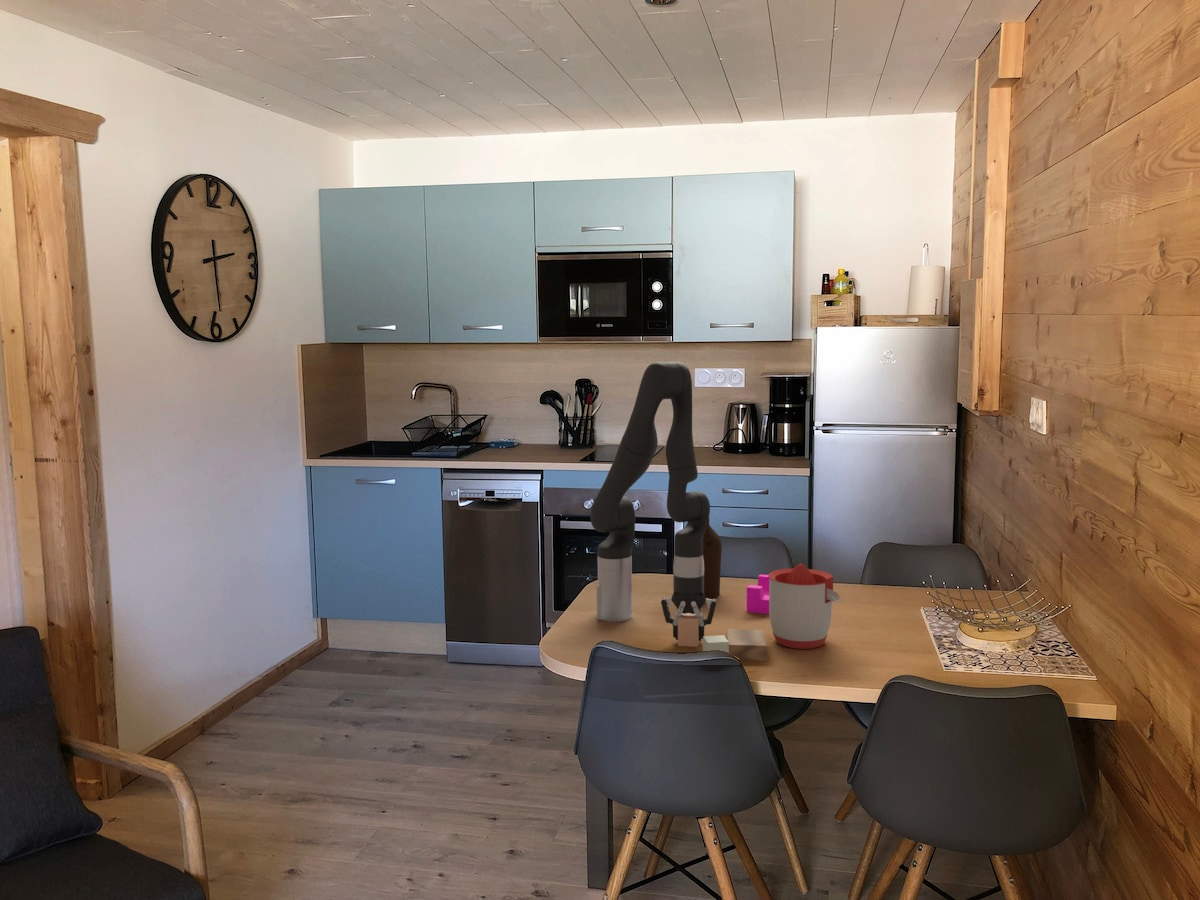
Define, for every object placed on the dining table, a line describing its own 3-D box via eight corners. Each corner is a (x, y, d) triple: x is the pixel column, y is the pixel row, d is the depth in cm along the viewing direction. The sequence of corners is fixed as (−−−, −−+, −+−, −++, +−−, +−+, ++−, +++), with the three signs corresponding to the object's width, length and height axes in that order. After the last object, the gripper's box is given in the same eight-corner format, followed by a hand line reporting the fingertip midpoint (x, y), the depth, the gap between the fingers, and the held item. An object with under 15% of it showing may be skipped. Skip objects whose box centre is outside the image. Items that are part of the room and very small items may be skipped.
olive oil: (729, 596, 277) (729, 512, 274) (705, 603, 270) (705, 517, 267) (701, 589, 285) (701, 507, 282) (677, 596, 278) (677, 512, 275)
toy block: (769, 616, 258) (769, 589, 257) (746, 613, 260) (746, 587, 259) (781, 601, 271) (781, 576, 270) (759, 599, 274) (760, 574, 273)
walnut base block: (728, 661, 223) (728, 644, 222) (726, 644, 235) (726, 629, 234) (766, 662, 222) (767, 645, 222) (763, 645, 234) (763, 630, 233)
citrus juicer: (829, 658, 223) (830, 575, 221) (758, 647, 232) (759, 567, 229) (846, 639, 237) (848, 560, 234) (779, 629, 245) (780, 553, 243)
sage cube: (707, 663, 221) (707, 642, 220) (703, 656, 226) (703, 636, 225) (728, 662, 221) (728, 641, 221) (723, 655, 226) (723, 635, 226)
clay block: (677, 645, 233) (677, 618, 232) (679, 639, 238) (679, 612, 237) (698, 646, 233) (698, 618, 232) (699, 640, 237) (699, 613, 237)
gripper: (658, 575, 231) (658, 643, 233) (717, 577, 228) (717, 645, 230) (660, 568, 238) (661, 634, 240) (718, 569, 236) (718, 636, 238)
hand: (688, 639), depth 235 cm, fingers closed on clay block, 5 cm apart
